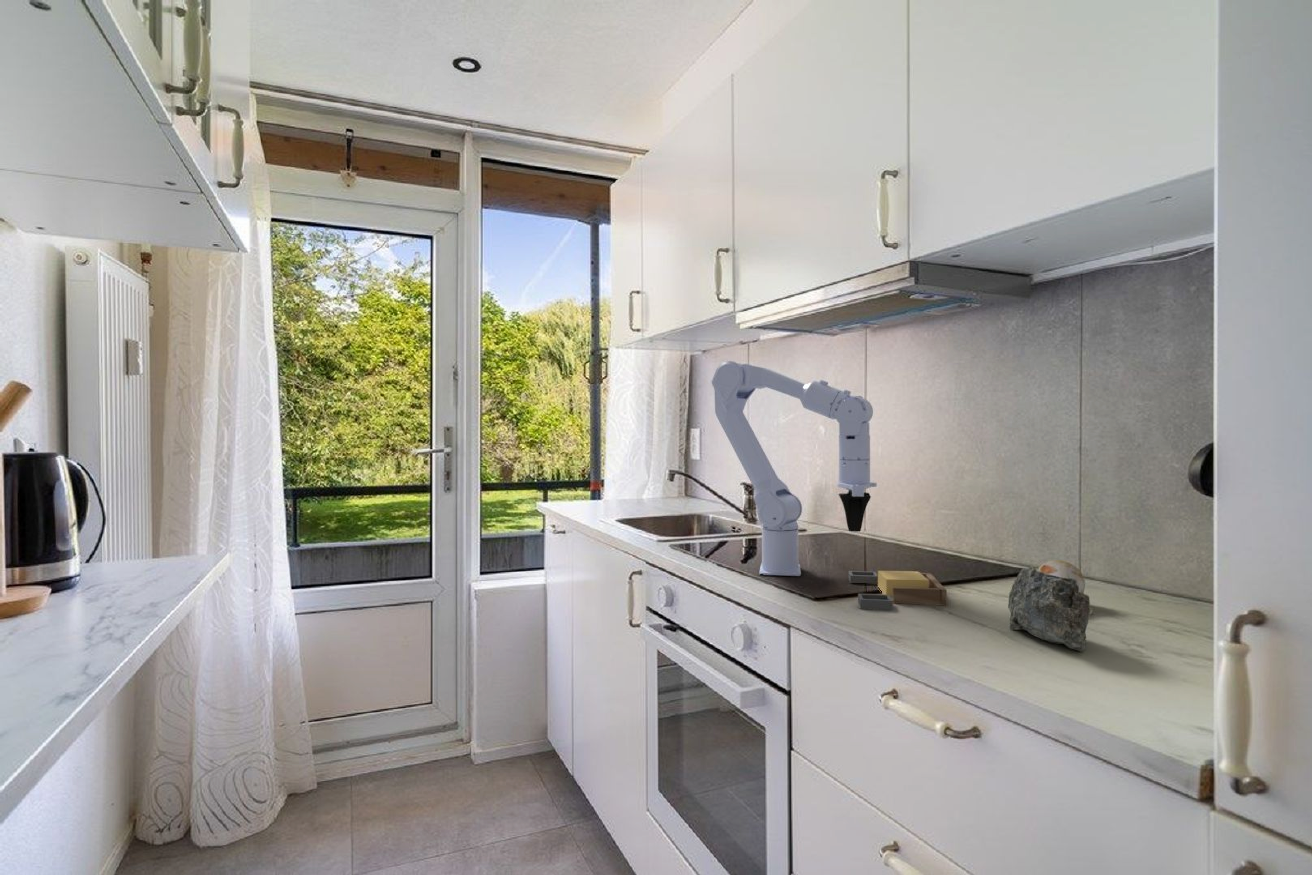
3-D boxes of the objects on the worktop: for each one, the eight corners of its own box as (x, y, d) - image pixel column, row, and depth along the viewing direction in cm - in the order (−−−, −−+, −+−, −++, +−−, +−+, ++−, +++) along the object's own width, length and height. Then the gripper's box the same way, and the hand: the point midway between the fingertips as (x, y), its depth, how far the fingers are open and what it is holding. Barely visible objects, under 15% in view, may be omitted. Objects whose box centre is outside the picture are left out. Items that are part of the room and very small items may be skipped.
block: (877, 589, 125) (877, 570, 125) (917, 590, 124) (918, 571, 124) (886, 599, 118) (886, 579, 118) (928, 600, 117) (928, 580, 117)
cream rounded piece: (1034, 614, 108) (1022, 553, 113) (1048, 629, 115) (1036, 571, 119) (1089, 609, 104) (1074, 546, 109) (1100, 625, 110) (1085, 565, 115)
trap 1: (848, 578, 132) (848, 570, 132) (875, 579, 131) (875, 571, 131) (850, 583, 128) (850, 575, 128) (878, 584, 128) (878, 576, 128)
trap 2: (858, 602, 115) (857, 593, 115) (889, 603, 114) (889, 594, 114) (860, 608, 111) (860, 599, 111) (893, 610, 110) (893, 600, 110)
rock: (973, 630, 99) (973, 561, 99) (1019, 621, 103) (1019, 555, 103) (1069, 660, 86) (1069, 581, 86) (1117, 649, 91) (1117, 573, 90)
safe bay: (882, 585, 127) (883, 571, 127) (930, 586, 125) (930, 573, 125) (893, 603, 114) (893, 588, 114) (946, 605, 113) (946, 590, 113)
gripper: (881, 461, 123) (881, 537, 123) (871, 457, 137) (871, 525, 137) (840, 461, 124) (840, 536, 125) (835, 457, 139) (835, 525, 139)
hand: (854, 530), depth 131 cm, fingers closed
